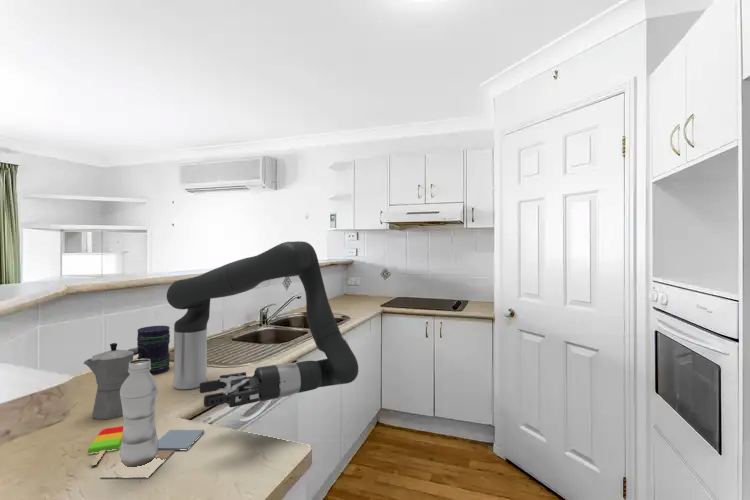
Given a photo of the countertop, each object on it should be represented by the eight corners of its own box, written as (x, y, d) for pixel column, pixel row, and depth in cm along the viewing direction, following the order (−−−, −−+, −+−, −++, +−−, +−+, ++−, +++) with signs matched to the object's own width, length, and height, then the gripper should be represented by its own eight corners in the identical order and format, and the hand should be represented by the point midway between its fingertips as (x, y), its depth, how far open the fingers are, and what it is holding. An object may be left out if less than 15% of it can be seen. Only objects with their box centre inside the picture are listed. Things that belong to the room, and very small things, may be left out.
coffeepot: (93, 426, 90) (93, 351, 90) (74, 417, 95) (75, 346, 95) (157, 403, 103) (157, 338, 103) (138, 397, 108) (138, 334, 108)
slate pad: (169, 432, 87) (169, 429, 87) (204, 432, 87) (204, 429, 87) (149, 450, 79) (149, 448, 79) (187, 450, 79) (187, 448, 79)
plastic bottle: (140, 474, 70) (141, 367, 70) (110, 469, 72) (111, 365, 72) (166, 455, 77) (166, 357, 77) (138, 451, 78) (138, 355, 78)
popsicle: (129, 432, 88) (129, 424, 88) (110, 467, 74) (110, 457, 74) (101, 436, 86) (101, 428, 86) (76, 472, 72) (76, 463, 72)
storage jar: (175, 367, 135) (176, 325, 135) (157, 376, 125) (157, 331, 125) (150, 366, 136) (150, 325, 136) (129, 375, 126) (130, 331, 126)
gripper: (269, 357, 94) (198, 367, 86) (286, 373, 82) (205, 387, 74) (269, 387, 94) (198, 400, 86) (286, 408, 82) (205, 425, 74)
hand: (201, 394), depth 80 cm, fingers open, 8 cm apart
